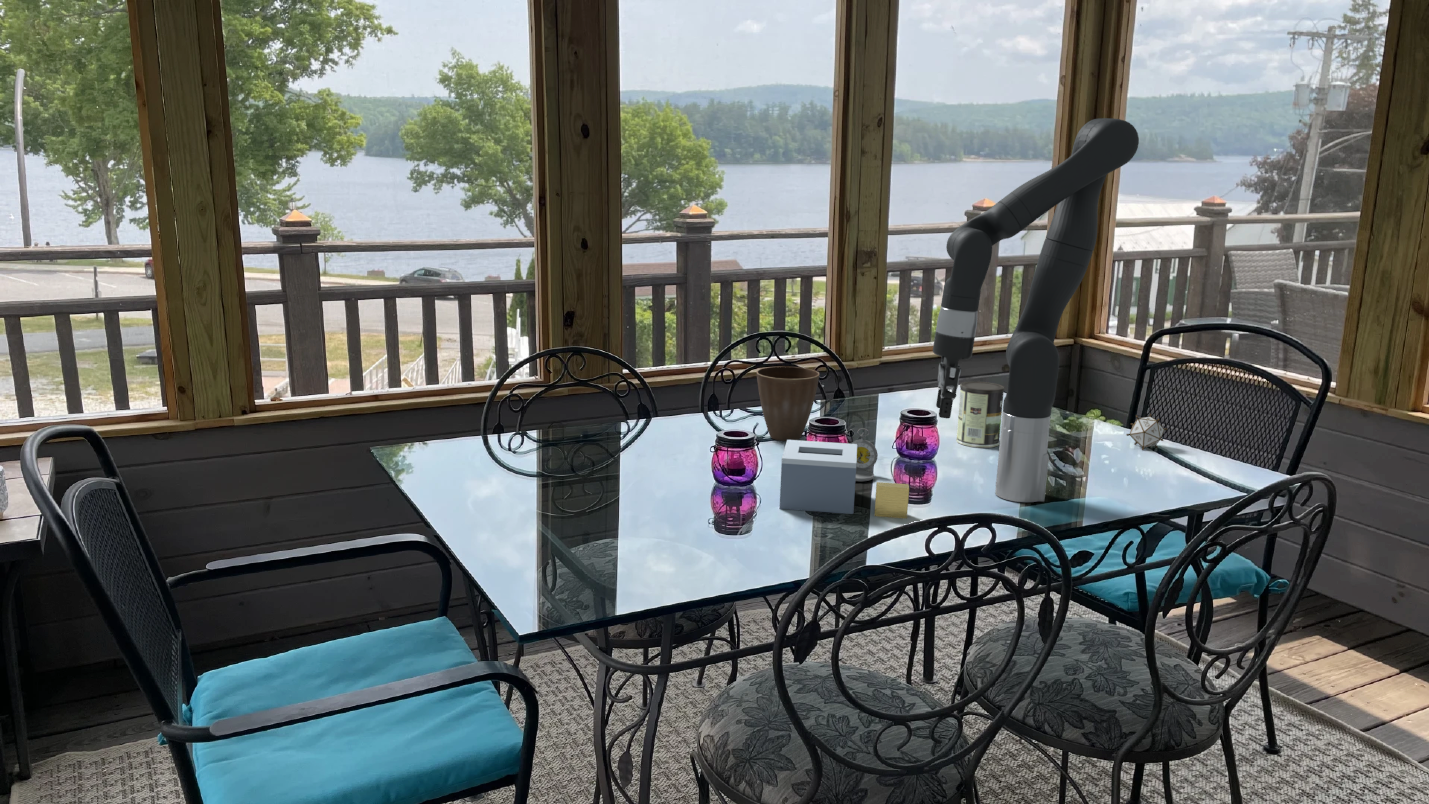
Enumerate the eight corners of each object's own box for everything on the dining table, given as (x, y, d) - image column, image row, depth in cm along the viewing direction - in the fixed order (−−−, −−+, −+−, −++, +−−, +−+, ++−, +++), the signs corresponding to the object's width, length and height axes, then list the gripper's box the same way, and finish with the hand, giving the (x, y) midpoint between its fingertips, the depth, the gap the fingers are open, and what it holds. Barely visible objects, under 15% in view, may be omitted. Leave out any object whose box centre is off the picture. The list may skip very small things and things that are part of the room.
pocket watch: (849, 483, 219) (852, 437, 217) (834, 472, 227) (836, 427, 225) (885, 481, 221) (888, 435, 219) (869, 470, 229) (872, 425, 227)
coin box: (854, 491, 213) (857, 444, 211) (853, 514, 200) (856, 463, 198) (784, 487, 215) (787, 439, 213) (779, 508, 202) (781, 458, 199)
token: (906, 514, 201) (908, 484, 199) (906, 518, 198) (909, 488, 197) (874, 512, 202) (876, 482, 200) (874, 516, 199) (876, 485, 198)
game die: (1151, 464, 254) (1177, 438, 247) (1119, 451, 254) (1144, 424, 247) (1148, 438, 261) (1173, 412, 254) (1117, 425, 260) (1141, 399, 253)
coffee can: (993, 437, 260) (998, 381, 257) (1004, 448, 250) (1009, 390, 247) (951, 436, 260) (956, 380, 257) (960, 447, 250) (965, 389, 247)
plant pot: (794, 449, 244) (797, 381, 241) (741, 437, 253) (744, 372, 249) (827, 437, 256) (831, 372, 252) (776, 426, 264) (779, 363, 261)
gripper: (978, 340, 197) (965, 423, 201) (971, 328, 211) (959, 407, 215) (938, 335, 198) (925, 418, 202) (934, 324, 212) (922, 402, 215)
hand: (942, 412), depth 208 cm, fingers open, 8 cm apart
